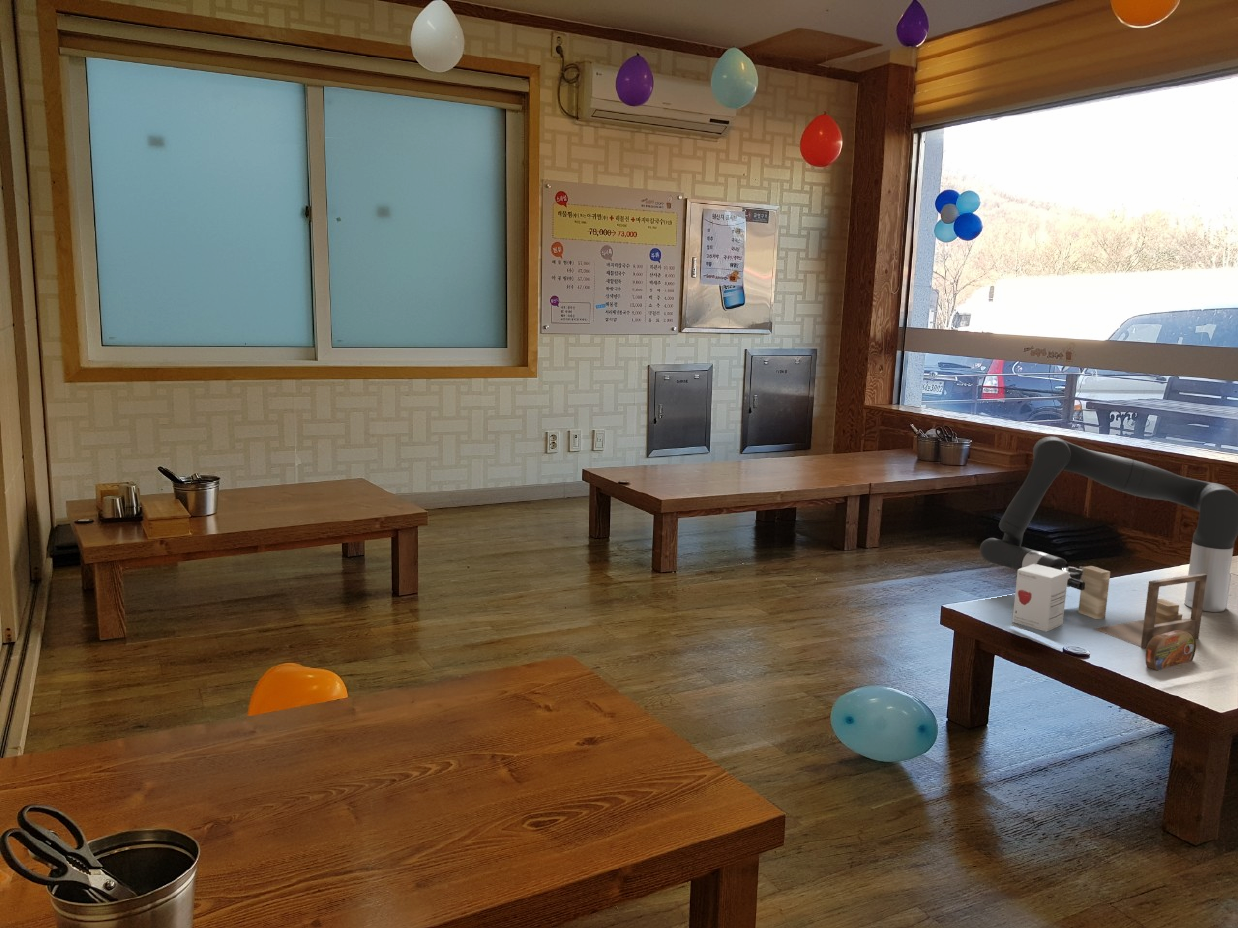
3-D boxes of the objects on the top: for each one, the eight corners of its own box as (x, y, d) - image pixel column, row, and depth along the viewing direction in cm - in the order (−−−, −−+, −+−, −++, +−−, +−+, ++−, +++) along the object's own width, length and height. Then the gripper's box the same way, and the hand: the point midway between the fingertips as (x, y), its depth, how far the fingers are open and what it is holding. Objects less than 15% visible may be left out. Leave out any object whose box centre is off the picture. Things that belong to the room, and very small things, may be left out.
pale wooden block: (1086, 613, 235) (1091, 565, 233) (1104, 620, 230) (1110, 571, 228) (1077, 615, 234) (1083, 566, 232) (1096, 622, 229) (1101, 572, 227)
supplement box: (1010, 626, 227) (1015, 568, 224) (1027, 618, 232) (1033, 562, 229) (1046, 636, 220) (1052, 577, 217) (1063, 628, 225) (1069, 571, 223)
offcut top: (1160, 607, 224) (1161, 598, 223) (1178, 614, 219) (1179, 605, 218) (1149, 609, 223) (1150, 599, 222) (1167, 615, 218) (1168, 606, 217)
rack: (1144, 624, 229) (1152, 558, 226) (1197, 643, 216) (1207, 574, 213) (1093, 633, 222) (1100, 565, 219) (1144, 653, 210) (1153, 582, 207)
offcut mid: (1157, 616, 224) (1159, 607, 224) (1181, 623, 219) (1182, 614, 219) (1148, 619, 222) (1149, 610, 222) (1172, 626, 217) (1173, 617, 217)
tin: (1154, 677, 196) (1158, 640, 195) (1140, 672, 199) (1144, 635, 198) (1195, 665, 203) (1200, 630, 202) (1181, 660, 206) (1185, 625, 205)
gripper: (1026, 556, 242) (1077, 573, 227) (1065, 551, 247) (1117, 567, 232) (1023, 583, 243) (1074, 601, 228) (1062, 577, 248) (1114, 595, 233)
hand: (1096, 584), depth 230 cm, fingers open, 8 cm apart
